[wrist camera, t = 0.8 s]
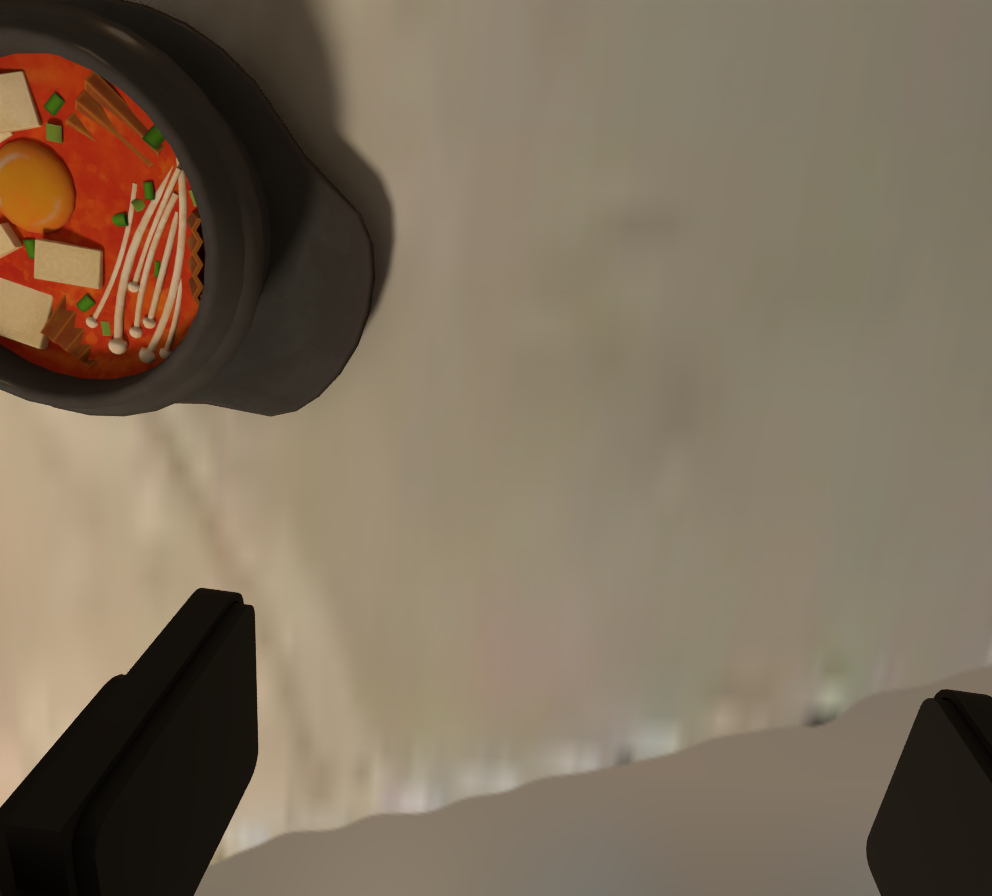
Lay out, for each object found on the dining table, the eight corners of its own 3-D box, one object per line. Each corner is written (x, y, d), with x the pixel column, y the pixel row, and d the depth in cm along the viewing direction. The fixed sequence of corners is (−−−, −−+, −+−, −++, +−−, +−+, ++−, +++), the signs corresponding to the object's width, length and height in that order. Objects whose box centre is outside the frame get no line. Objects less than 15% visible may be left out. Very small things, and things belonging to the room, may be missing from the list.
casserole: (447, 168, 36) (415, 174, 28) (299, 477, 43) (241, 550, 35) (-56, -121, 33) (-245, -203, 25) (-128, 258, 40) (-296, 285, 32)
